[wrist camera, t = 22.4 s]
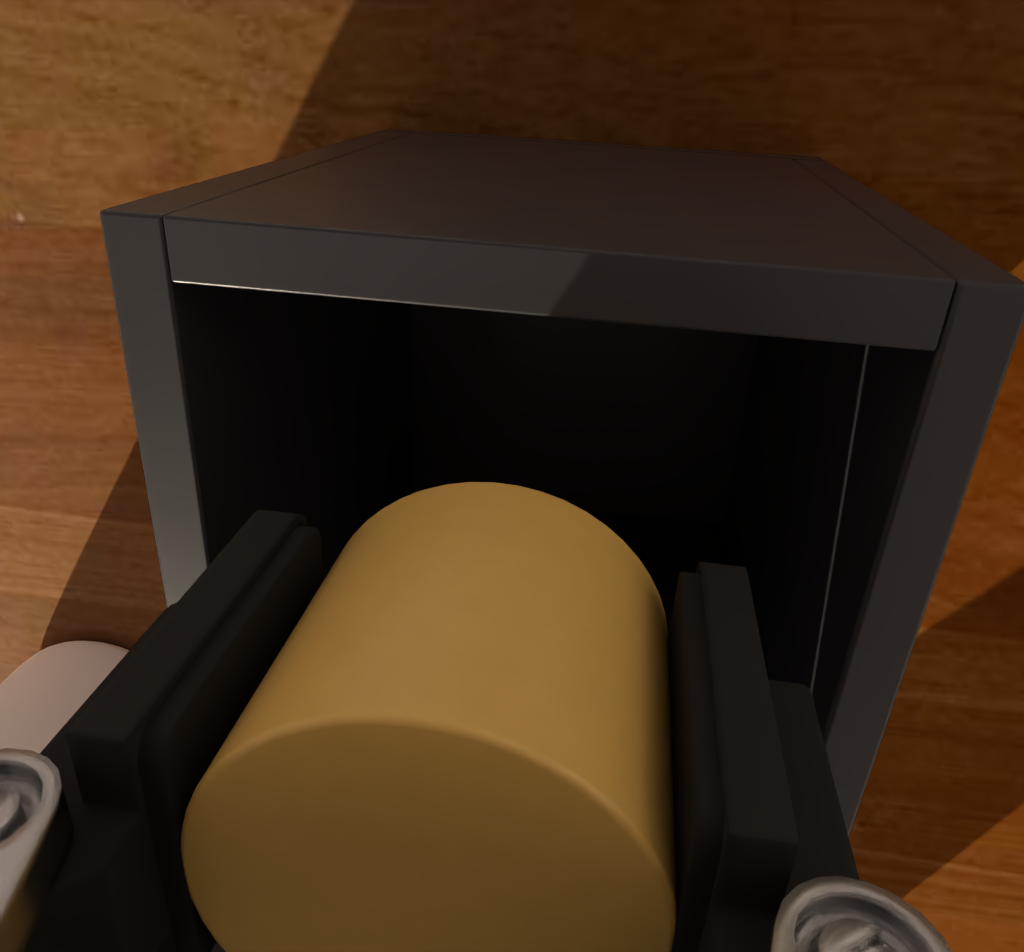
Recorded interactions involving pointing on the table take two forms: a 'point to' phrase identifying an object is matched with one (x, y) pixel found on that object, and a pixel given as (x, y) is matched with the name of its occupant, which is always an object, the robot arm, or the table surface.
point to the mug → (51, 690)
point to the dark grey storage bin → (580, 370)
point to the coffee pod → (453, 747)
